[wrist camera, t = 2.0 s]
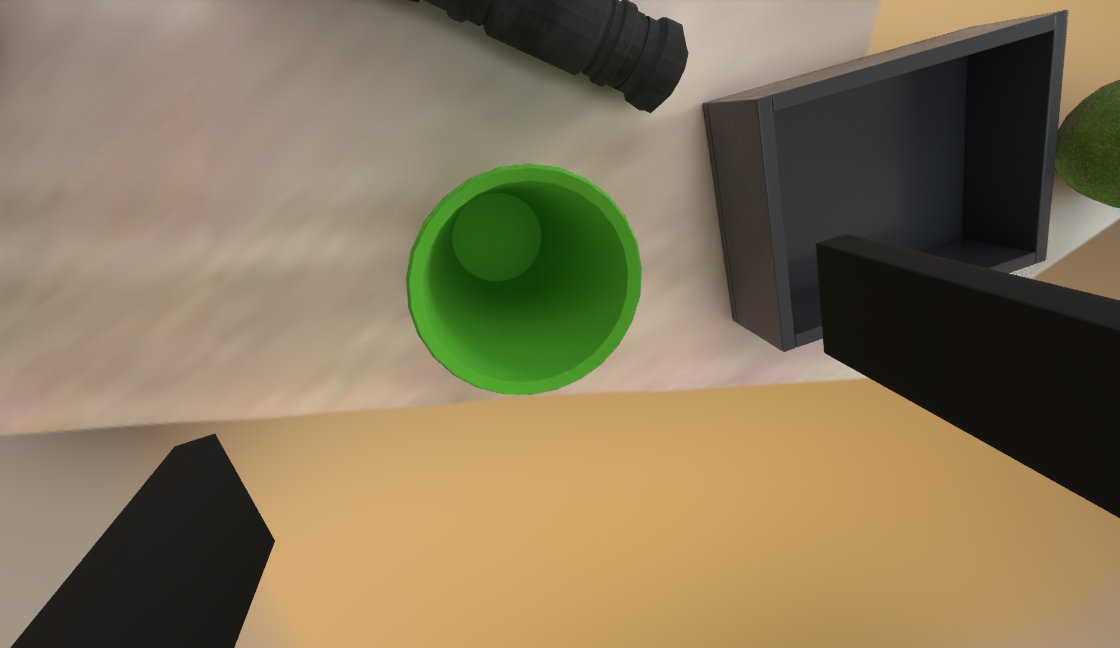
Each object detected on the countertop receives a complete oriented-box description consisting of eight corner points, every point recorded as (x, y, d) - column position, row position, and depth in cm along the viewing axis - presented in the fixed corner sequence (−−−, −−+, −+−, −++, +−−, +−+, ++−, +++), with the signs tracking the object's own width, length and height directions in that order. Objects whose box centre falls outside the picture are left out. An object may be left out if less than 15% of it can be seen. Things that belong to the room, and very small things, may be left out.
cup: (399, 297, 31) (387, 381, 21) (429, 130, 29) (432, 134, 19) (552, 324, 34) (607, 410, 24) (592, 173, 31) (672, 197, 21)
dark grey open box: (732, 320, 36) (783, 352, 31) (702, 103, 31) (756, 99, 26) (963, 242, 39) (1046, 260, 34) (970, 26, 34) (1069, 9, 28)
